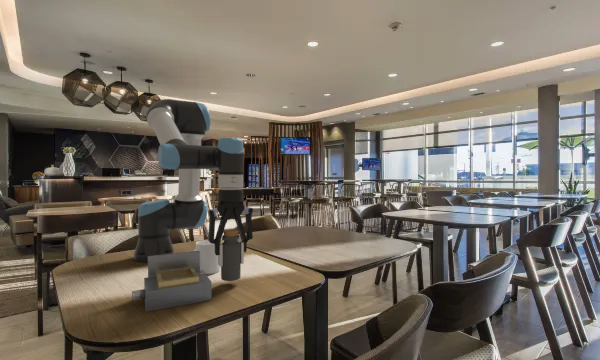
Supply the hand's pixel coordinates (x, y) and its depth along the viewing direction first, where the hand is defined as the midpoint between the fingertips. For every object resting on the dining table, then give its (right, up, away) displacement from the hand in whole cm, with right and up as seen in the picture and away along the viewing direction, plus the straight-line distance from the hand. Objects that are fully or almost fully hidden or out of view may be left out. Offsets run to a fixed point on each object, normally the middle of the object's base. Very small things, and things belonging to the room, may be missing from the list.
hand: (230, 263), depth 98 cm
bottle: (0, -5, 0) cm, 5 cm away
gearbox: (-14, -7, -11) cm, 19 cm away
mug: (-12, -7, +13) cm, 18 cm away
